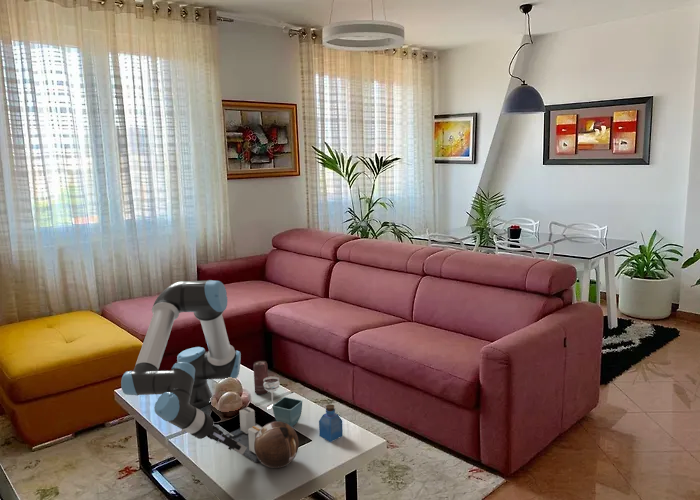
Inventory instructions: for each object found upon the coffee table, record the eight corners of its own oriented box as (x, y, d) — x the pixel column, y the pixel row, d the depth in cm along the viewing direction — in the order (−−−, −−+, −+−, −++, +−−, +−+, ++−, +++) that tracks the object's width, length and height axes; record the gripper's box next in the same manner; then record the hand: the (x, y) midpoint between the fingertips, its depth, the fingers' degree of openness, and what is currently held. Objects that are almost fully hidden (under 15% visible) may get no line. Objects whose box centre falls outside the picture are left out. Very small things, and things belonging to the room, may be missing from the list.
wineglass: (283, 404, 232) (282, 378, 230) (274, 411, 226) (273, 384, 224) (270, 401, 235) (269, 375, 233) (261, 408, 229) (259, 381, 227)
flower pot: (272, 427, 213) (271, 405, 211) (285, 417, 221) (284, 396, 219) (291, 431, 209) (290, 410, 207) (303, 421, 217) (303, 400, 215)
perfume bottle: (331, 430, 210) (330, 401, 208) (342, 435, 205) (341, 406, 203) (319, 436, 205) (318, 406, 203) (330, 442, 201) (329, 411, 199)
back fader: (240, 430, 207) (239, 409, 206) (249, 426, 210) (248, 406, 209) (246, 433, 205) (245, 413, 203) (255, 429, 207) (254, 409, 206)
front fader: (249, 450, 193) (248, 428, 192) (258, 445, 196) (257, 423, 195) (256, 454, 191) (254, 431, 189) (265, 449, 193) (264, 427, 192)
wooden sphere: (248, 462, 189) (245, 422, 187) (286, 448, 198) (284, 409, 195) (267, 482, 177) (265, 440, 175) (307, 466, 186) (305, 426, 183)
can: (263, 396, 240) (261, 366, 237) (252, 393, 243) (250, 363, 241) (271, 391, 245) (270, 361, 243) (261, 388, 248) (259, 358, 246)
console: (221, 440, 204) (220, 436, 203) (254, 425, 214) (253, 421, 214) (256, 463, 189) (255, 458, 188) (289, 445, 199) (289, 441, 199)
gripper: (179, 426, 177) (226, 453, 192) (200, 441, 168) (248, 467, 183) (193, 406, 180) (238, 433, 194) (214, 419, 171) (260, 447, 185)
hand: (243, 450), depth 188 cm, fingers closed
